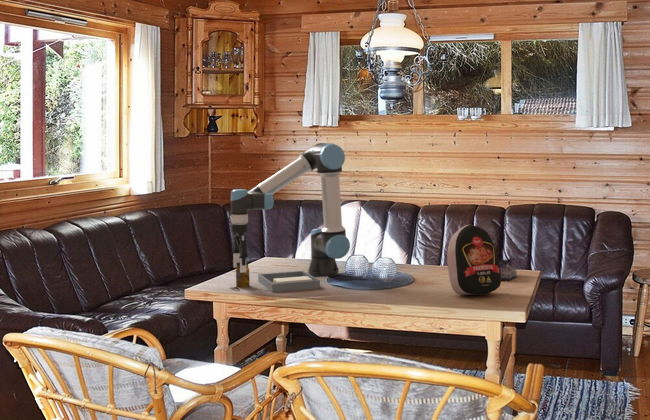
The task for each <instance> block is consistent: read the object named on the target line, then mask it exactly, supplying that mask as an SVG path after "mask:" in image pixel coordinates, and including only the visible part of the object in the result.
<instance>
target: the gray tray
mask: <svg viewBox="0 0 650 420" xmlns="http://www.w3.org/2000/svg"><path fill="white" fill-rule="evenodd" d="M302 276H308V277H309V278H311V279H312V281H302V282H290V283H277V284H274V283H273V279H275V278H288V277H302ZM257 278H258V279H257V280H258V281H257V282H258V283H259V284H261V285H262V286H263V287H265V288H266V289H267V290H269V291H270V292H271V293H279V292H291V291H292V292H294V291H304V290H305V291H306V290H317V289H320V288H321V280H320V279H318V278H317V277H313V276H311V275H310V274H308V272H306V271H304V270H298V271H297V270H295V271H283V272H282V271H281V272H269V273H268V272H267V273H258V274H257Z"/></svg>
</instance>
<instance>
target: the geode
mask: <svg viewBox="0 0 650 420" xmlns="http://www.w3.org/2000/svg"><path fill="white" fill-rule="evenodd" d="M516 261H517V260H516V258H515V257H513V258H512V257H510V258H508V259H500V260H499V264H500V271H501V281H508V280H513V279H514V278H517V277H518V275H517V268H516V267H517V265H516Z"/></svg>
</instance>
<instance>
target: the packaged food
mask: <svg viewBox="0 0 650 420" xmlns="http://www.w3.org/2000/svg"><path fill="white" fill-rule="evenodd" d="M446 255H447V257H446V258H447V261H446V262H447V270H448V271H447V272H448V277H449V283H450V287H451V288H452V290H453V292H454V293H455V294H456V295H459V296H472V295H473V296H475V295H477V296H478V295H480V296H481V295H487V294H489V293H493V292H495V291H496V290H498V289H499V288H500V286H501V284H502V280H501V271H500V264H499V261H500V260H499V257H498V253H497V250H496V247H495V244H494V241H493V240H492V238H491V236H490V234H489V233H488V232H487V231H486V230H485V229H483V228H482V227H481V226H480V227H479V226H478V225H474V224H473V225H472V224H465V225H463V226H462V227H460V228H459V229H458V230H457V231H456V232H455V233H454V234H453V235H452V237H451V238H450V239H449V243H448V247H447V254H446Z"/></svg>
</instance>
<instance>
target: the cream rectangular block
mask: <svg viewBox="0 0 650 420" xmlns="http://www.w3.org/2000/svg"><path fill="white" fill-rule="evenodd" d="M302 281H312V279H311V278H309V277H308V276H302V277H288V278H275V279H273V283H274V284H277V283H290V282H302Z"/></svg>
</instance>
